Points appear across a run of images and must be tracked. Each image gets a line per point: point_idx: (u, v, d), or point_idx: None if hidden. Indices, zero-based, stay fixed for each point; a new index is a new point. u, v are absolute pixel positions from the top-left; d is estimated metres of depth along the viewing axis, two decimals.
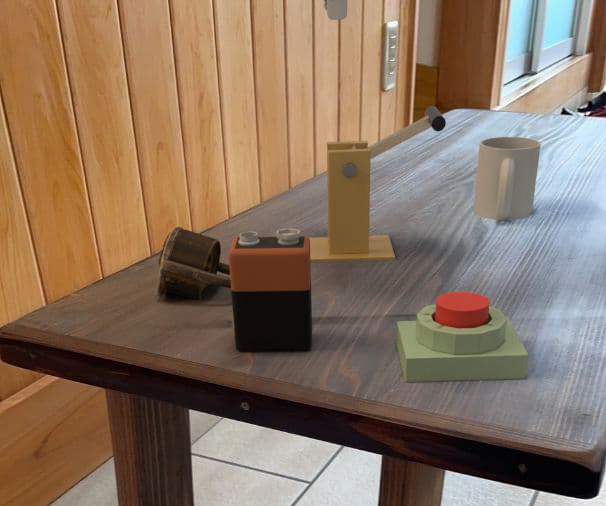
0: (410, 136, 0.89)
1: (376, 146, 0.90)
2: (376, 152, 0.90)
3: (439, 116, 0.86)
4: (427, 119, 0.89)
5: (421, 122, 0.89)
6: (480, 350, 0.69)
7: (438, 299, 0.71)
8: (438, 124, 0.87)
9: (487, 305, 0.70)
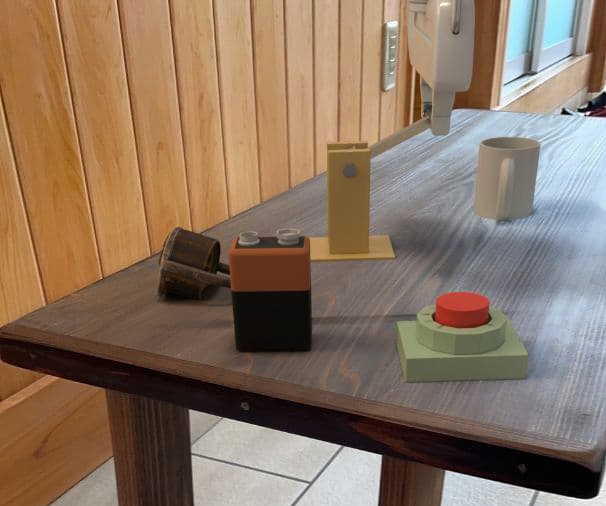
0: (410, 136, 0.89)
1: (376, 146, 0.90)
2: (376, 152, 0.90)
3: None
4: (427, 119, 0.89)
5: (421, 122, 0.89)
6: (480, 350, 0.69)
7: (438, 299, 0.71)
8: None
9: (487, 305, 0.70)
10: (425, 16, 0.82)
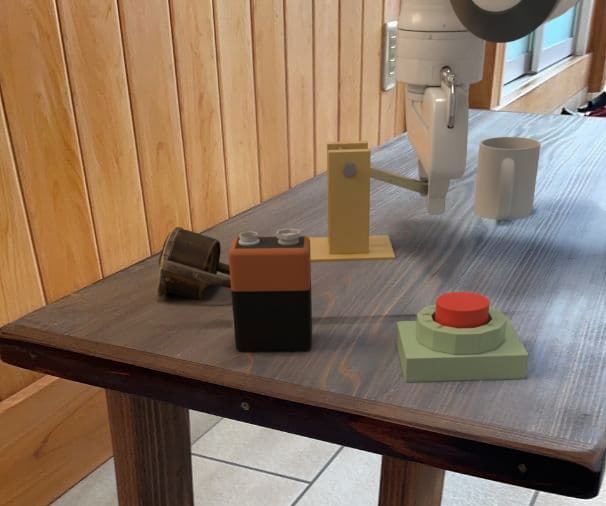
0: (408, 188, 0.93)
1: (379, 171, 0.91)
2: (376, 175, 0.92)
3: None
4: None
5: (424, 185, 0.92)
6: (480, 350, 0.69)
7: (438, 299, 0.71)
8: None
9: (487, 305, 0.70)
10: (422, 105, 0.87)
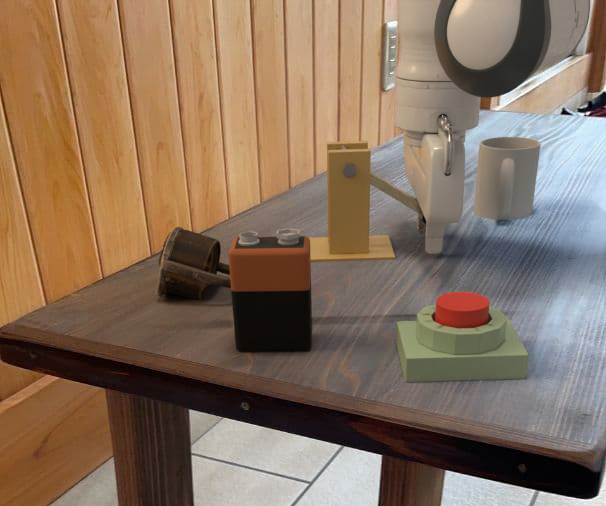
0: (401, 201, 0.93)
1: (377, 178, 0.92)
2: (373, 181, 0.92)
3: None
4: None
5: (417, 202, 0.93)
6: (480, 350, 0.69)
7: (438, 299, 0.71)
8: None
9: (487, 305, 0.70)
10: (420, 149, 0.89)
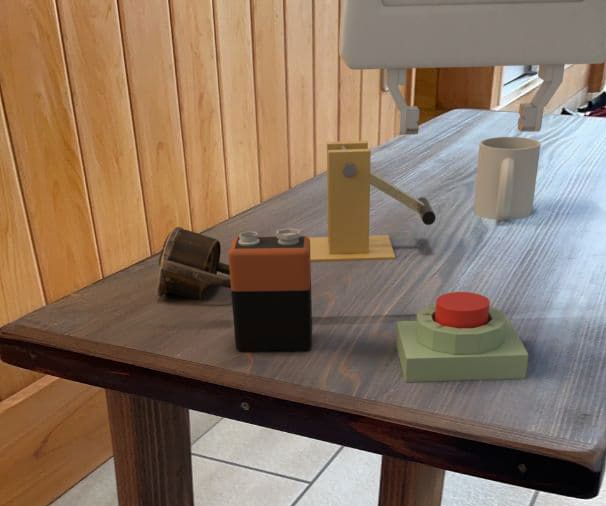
0: (401, 201, 0.93)
1: (377, 178, 0.92)
2: (373, 181, 0.92)
3: (434, 214, 0.92)
4: (422, 205, 0.94)
5: (417, 202, 0.93)
6: (480, 350, 0.69)
7: (438, 299, 0.71)
8: (428, 218, 0.92)
9: (487, 305, 0.70)
10: None
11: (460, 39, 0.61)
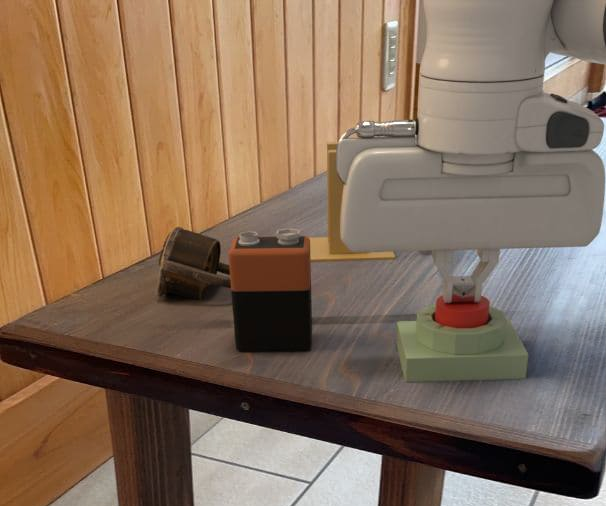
0: None
1: None
2: None
3: None
4: None
5: None
6: (480, 350, 0.69)
7: (438, 299, 0.71)
8: None
9: (487, 305, 0.70)
10: None
11: (453, 227, 0.66)
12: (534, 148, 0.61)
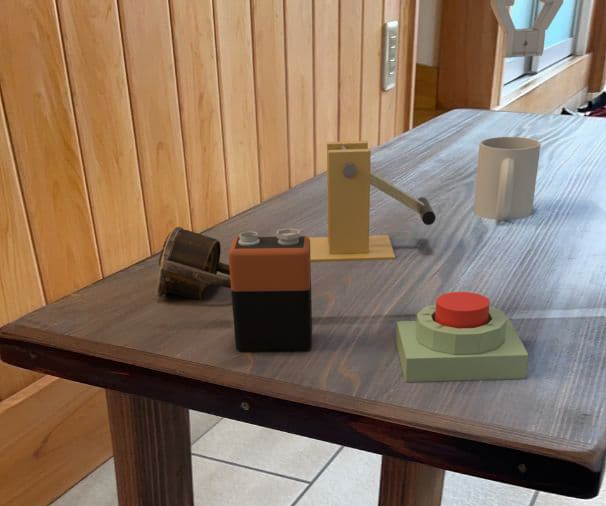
0: (401, 201, 0.93)
1: (377, 178, 0.92)
2: (373, 181, 0.92)
3: (434, 214, 0.92)
4: (422, 205, 0.94)
5: (417, 202, 0.93)
6: (480, 350, 0.69)
7: (438, 299, 0.71)
8: (428, 218, 0.92)
9: (487, 305, 0.70)
10: None
11: None
12: None
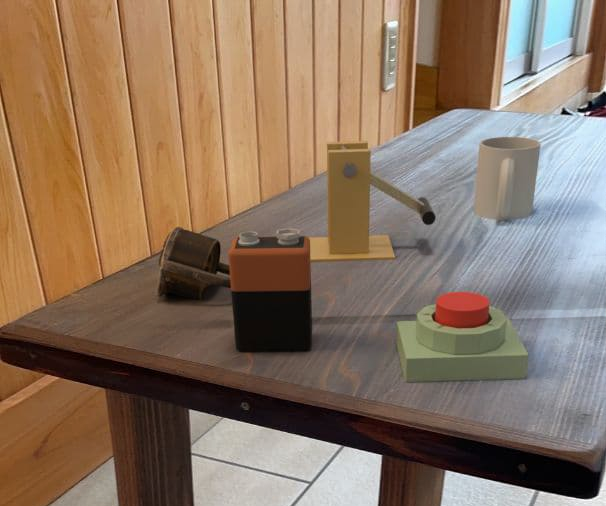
0: (401, 201, 0.93)
1: (377, 178, 0.92)
2: (373, 181, 0.92)
3: (434, 214, 0.92)
4: (422, 205, 0.94)
5: (417, 202, 0.93)
6: (480, 350, 0.69)
7: (438, 299, 0.71)
8: (428, 218, 0.92)
9: (487, 305, 0.70)
10: None
11: None
12: None
